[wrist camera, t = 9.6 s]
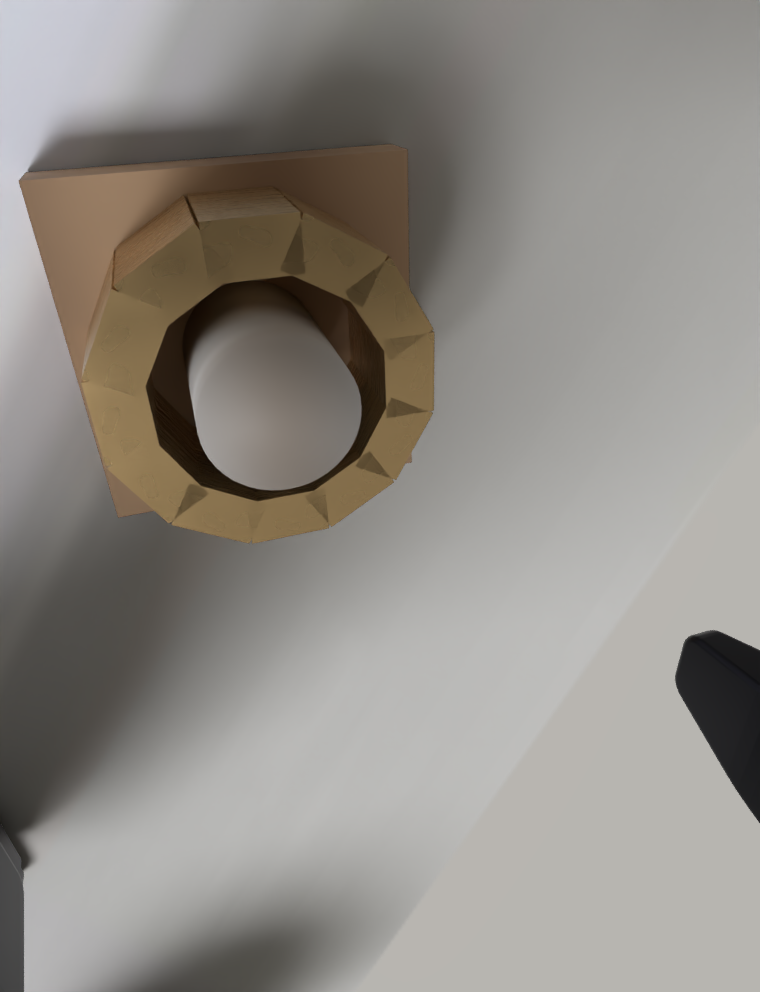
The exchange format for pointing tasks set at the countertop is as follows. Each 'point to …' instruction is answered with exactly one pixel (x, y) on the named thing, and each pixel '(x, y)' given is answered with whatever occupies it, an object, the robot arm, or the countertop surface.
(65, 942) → the countertop surface
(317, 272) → the ring
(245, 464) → the peg stand
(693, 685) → the robot arm
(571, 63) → the countertop surface
